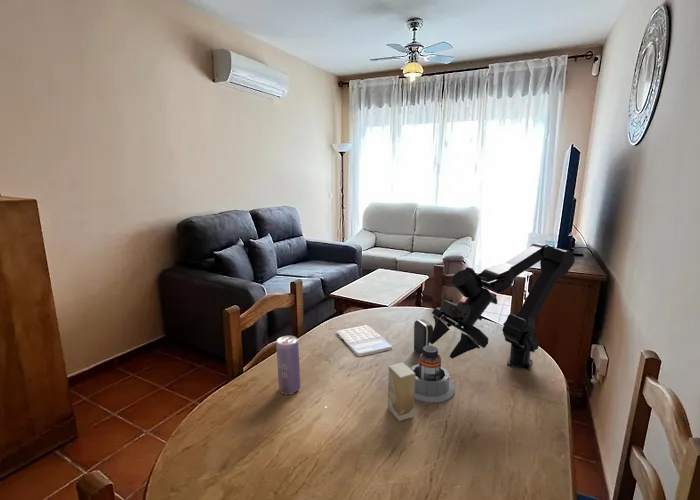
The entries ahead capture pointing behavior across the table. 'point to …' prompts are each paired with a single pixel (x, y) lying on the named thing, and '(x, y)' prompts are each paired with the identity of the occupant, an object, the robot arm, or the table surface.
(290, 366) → the beverage can
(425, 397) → the grey round holder
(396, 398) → the skincare box
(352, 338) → the calculator
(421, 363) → the supplement bottle
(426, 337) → the battery charger
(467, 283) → the robot arm
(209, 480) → the table surface
